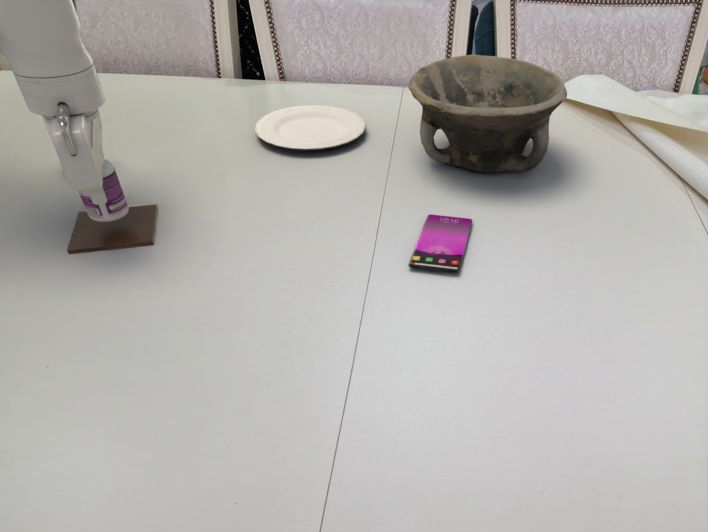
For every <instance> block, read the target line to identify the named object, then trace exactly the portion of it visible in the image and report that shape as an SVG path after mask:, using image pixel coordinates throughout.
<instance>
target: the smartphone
mask: <svg viewBox="0 0 708 532" xmlns="http://www.w3.org/2000/svg"><path fill="white" fill-rule="evenodd" d="M472 225H473V219H472V218H468V217H458V216H450V215H449V216H448V215H440V214H439V215H438V214H433V213H432V214H431V213H430V214H428V215H427V216H426V218H425V221H424V224H423V226H422V229H421V231H420V233H419V236H418V239H417V241H416V244H415V246H414V249H413V251H412V254H411V256H410V259H409V262H408V264H407V266H408V267H409V268H412V269H422V270H430V271H438V272H446V273H454V274H456V273H459V272H460V269H461V265H462V262H463V258H464V254H465V250H466V248H467V243H468V240H469V236H470V232H471V230H472V229H471V228H472Z"/></svg>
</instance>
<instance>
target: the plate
mask: <svg viewBox="0 0 708 532" xmlns="http://www.w3.org/2000/svg"><path fill="white" fill-rule="evenodd" d="M365 130H366V122H365V120H364V119H363V118H362V117H361V116H360V115H358V114H357V113H356V112H353V111H351V110H348V109H345V108H342V107H336V106H330V105H319V104H318V105H317V104H316V105H314V104H311V105H310V104H309V105H298V106H291V107H285V108H281V109H278V110H275V111H272V112H269V113H268V114H266V115H264V116H263V117H261V118H259V120H258V121H257V122H256V124H255V125H254V133H255V134H256V137H258V138H259V139H260V140H261V141H263V142H265V143H266V144H268V145H272V146H274V147H277V148H280V149H288V150H293V151H311V152H312V151H322V150H323V151H324V150H329V149H334V148H337V147H341V146H344V145H348V144H351V143H353V142H354V141H356V140H357V139H359V138H360V137H361V136H362V135H363V134H364V133H365Z"/></svg>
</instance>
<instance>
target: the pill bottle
mask: <svg viewBox="0 0 708 532" xmlns="http://www.w3.org/2000/svg"><path fill="white" fill-rule="evenodd" d="M100 150H101V153H102V168H103V187H104V189H105V192H106V195H107V203H105V204H99V205H96V204H94V203H93V202H92V200H91V197H90V195H89V193H88V192H87V190H86V191H77V192H78V194H79V196H80V199H81V202H82V203H83V207H84V208H85V211H87V213H88V215H89V217H90V218H91V219H93V220H95V221H99V222H110V221H115V220H118V219H120V218H122V217H124V216H125V215H126V214H127V213H128V210H129V207H130V206H129V204H128V201H127V199H126V196H125V193H124V189H123V188H122V185H121V182H120V180H119V177H118V173H117V171H116V168H115V166H114V164H113V163H112V162H110V161H109V160H108V159H106V158H105V154H104V151H103V148H102V149H101V147H100ZM76 155H77V154H75V156H76ZM71 156H73V155H71Z"/></svg>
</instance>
